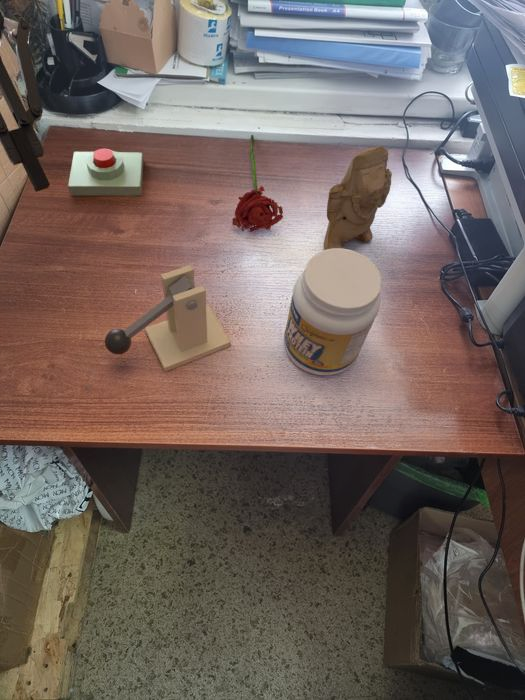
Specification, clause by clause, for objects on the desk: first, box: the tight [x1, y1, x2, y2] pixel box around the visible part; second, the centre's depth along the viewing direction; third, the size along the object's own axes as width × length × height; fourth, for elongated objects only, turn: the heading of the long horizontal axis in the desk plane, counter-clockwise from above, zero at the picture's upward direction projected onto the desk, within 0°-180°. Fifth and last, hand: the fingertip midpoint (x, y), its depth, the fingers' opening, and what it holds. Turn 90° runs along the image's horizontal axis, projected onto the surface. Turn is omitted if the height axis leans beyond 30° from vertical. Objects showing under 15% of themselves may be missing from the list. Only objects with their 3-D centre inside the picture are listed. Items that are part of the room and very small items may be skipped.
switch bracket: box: [144, 264, 232, 373], centre depth 74 cm, size 11×8×14 cm
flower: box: [231, 134, 284, 233], centre depth 99 cm, size 9×10×30 cm
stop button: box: [93, 147, 115, 168], centre depth 94 cm, size 4×4×2 cm
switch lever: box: [104, 276, 197, 355], centre depth 70 cm, size 15×4×4 cm, turn 118°
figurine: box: [323, 145, 393, 250], centre depth 85 cm, size 13×7×20 cm, turn 118°
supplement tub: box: [283, 247, 382, 376], centre depth 74 cm, size 12×12×17 cm
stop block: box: [67, 149, 144, 197], centre depth 96 cm, size 13×10×4 cm
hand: (42, 187), depth 60 cm, fingers closed
